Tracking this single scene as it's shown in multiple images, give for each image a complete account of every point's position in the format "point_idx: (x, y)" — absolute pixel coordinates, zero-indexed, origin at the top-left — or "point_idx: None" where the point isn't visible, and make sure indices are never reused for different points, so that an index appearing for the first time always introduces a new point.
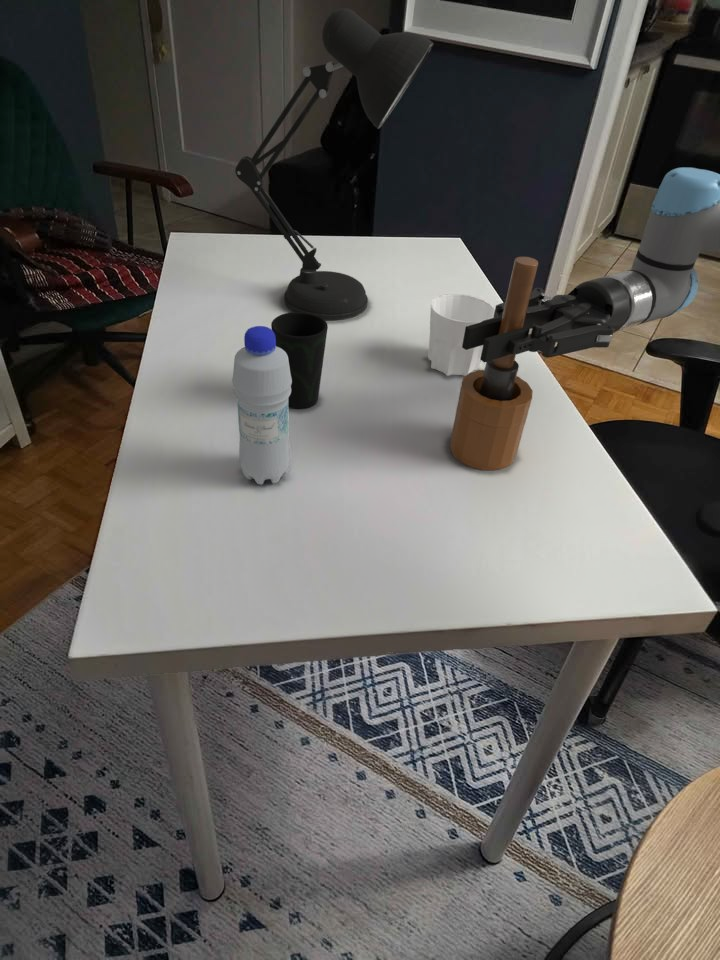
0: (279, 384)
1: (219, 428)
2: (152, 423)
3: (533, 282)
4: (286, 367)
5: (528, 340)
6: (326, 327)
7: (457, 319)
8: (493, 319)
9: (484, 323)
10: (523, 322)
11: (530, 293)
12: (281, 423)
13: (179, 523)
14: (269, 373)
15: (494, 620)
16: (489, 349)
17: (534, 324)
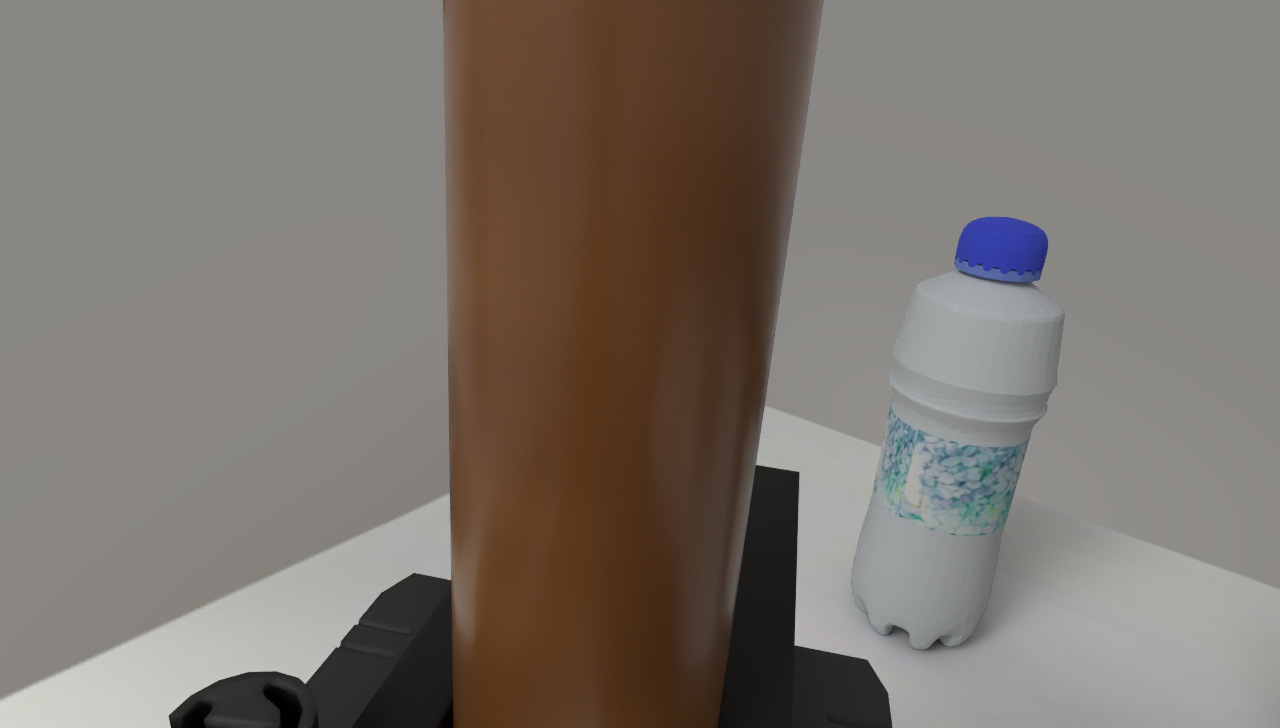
0: (904, 335)
1: (1154, 652)
2: (1204, 581)
3: (446, 120)
4: (934, 316)
5: (317, 683)
6: None
7: None
8: (785, 656)
9: (765, 559)
10: (454, 675)
11: (447, 290)
12: (887, 454)
13: (835, 484)
14: (913, 294)
15: (196, 610)
16: None
17: (301, 711)
